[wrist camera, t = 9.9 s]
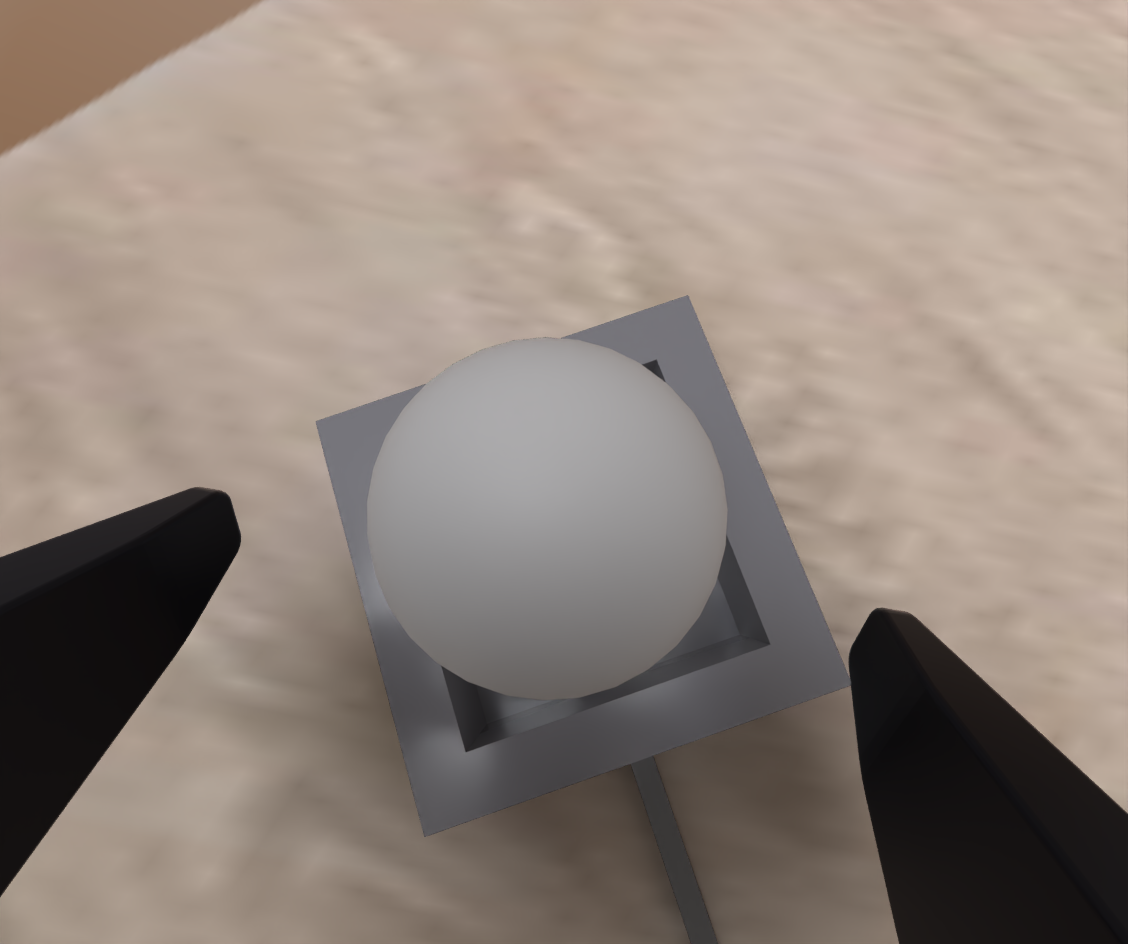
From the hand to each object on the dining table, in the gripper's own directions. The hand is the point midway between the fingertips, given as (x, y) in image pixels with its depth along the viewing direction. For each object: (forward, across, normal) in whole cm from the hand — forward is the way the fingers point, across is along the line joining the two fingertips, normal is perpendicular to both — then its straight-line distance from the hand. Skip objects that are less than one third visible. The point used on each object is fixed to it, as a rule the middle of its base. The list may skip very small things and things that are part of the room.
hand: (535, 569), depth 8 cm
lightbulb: (+8, 0, +7) cm, 10 cm away
